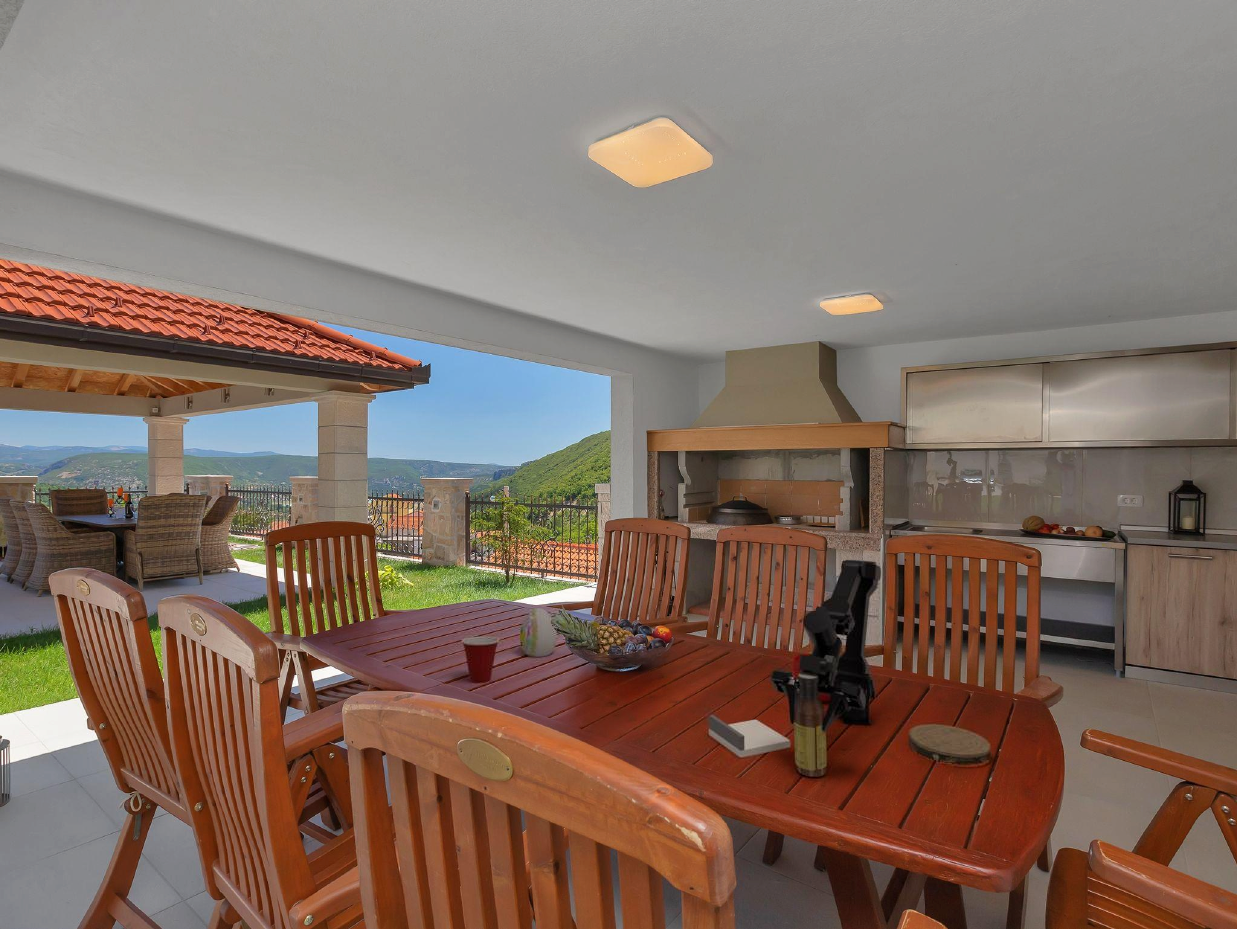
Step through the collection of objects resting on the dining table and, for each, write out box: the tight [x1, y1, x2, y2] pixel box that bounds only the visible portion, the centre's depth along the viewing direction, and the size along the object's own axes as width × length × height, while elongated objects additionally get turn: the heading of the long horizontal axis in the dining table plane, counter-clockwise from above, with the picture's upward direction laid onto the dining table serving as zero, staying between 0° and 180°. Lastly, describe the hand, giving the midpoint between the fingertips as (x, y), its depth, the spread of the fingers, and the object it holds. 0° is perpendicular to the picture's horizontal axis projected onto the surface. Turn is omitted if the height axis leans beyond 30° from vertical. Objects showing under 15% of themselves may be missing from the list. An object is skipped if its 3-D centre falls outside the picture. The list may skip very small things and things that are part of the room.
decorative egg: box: [519, 607, 558, 658], centre depth 216 cm, size 12×12×15 cm
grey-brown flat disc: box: [908, 723, 991, 765], centre depth 142 cm, size 16×16×3 cm
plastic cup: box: [461, 636, 500, 684], centre depth 190 cm, size 11×11×12 cm
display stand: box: [708, 714, 791, 758], centre depth 148 cm, size 13×13×4 cm
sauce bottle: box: [793, 672, 828, 778], centre depth 133 cm, size 6×6×20 cm
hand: (807, 726), depth 132 cm, fingers closed on sauce bottle, 6 cm apart
